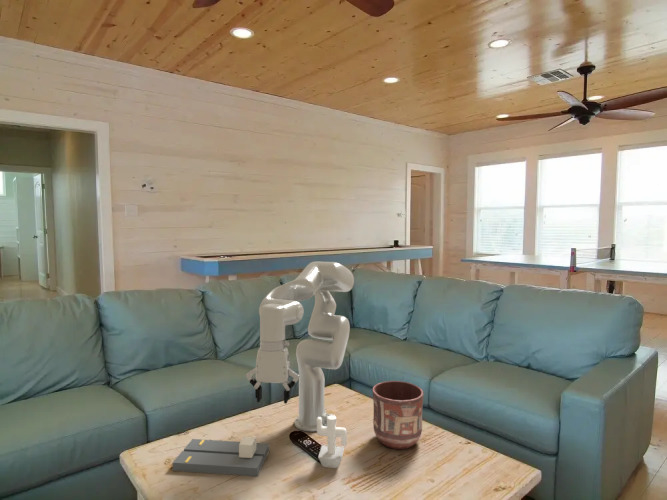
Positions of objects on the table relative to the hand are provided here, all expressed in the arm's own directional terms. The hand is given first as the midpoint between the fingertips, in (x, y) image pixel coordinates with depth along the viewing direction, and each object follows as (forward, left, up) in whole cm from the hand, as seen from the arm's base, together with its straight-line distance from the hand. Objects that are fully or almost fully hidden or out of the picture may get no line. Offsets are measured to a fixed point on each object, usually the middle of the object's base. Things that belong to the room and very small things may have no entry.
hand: (272, 400), depth 128 cm
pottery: (-39, -18, -20) cm, 47 cm away
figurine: (-18, -2, -20) cm, 27 cm away
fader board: (+16, 0, -20) cm, 26 cm away
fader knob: (+8, 0, -18) cm, 20 cm away
